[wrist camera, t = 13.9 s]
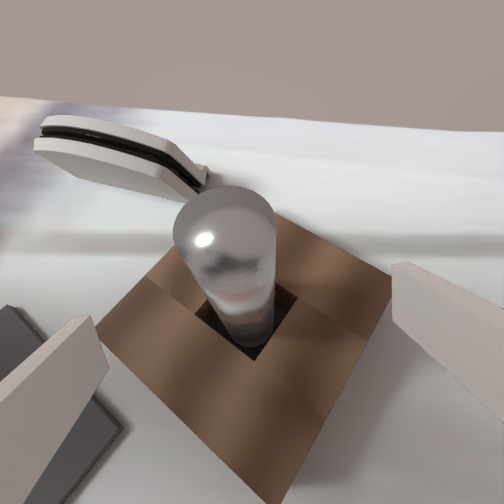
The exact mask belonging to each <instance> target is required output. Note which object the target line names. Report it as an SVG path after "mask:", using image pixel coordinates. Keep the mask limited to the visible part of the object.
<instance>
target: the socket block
mask: <svg viewBox="0 0 504 504" xmlns="http://www.w3.org/2000/svg"><path fill="white" fill-rule="evenodd" d="M274 214H275V217H276V262H275V298H274V301H275V302H276V303H278V304H279V305H281V306H282V307H284V308H285V309H287V310H288V311H289V312H288V314H287V315H286V316H285V318H284V319H283V321H282V322H281V324H280V325H279V327H278V328H277V330H276V331H275V332H274V334H273V335H272V337H271V338H270V340H269V341H268V343H267V344H266V346H265V347H264V348H263V350H262V351H261V353H260V354H259V356H258V357H257V359H256V360H255V362H254V361H253V360H252V359H250V358H249V357H248V356H246V355H245V354H244V353H243V352H241V351H240V350H239V349H238V348H236V347H235V346H234V345H233V344H231V343H230V342H229V341H227V340H226V339H225V338H224V337H222V336H221V335H220V334H219V333H217V332H216V331H215V330H213V329H212V328H211V327H210V325H211V323H212V322H213V321H214V320H215V318H216V317H217V316H218V315H217V313H216V311H215V310H214V308H213V307H212V305H211V304H210V302H209V300H208V299H207V297H206V296H205V294H204V292H203V291H202V289H201V288H200V286H199V285H198V283H197V281H196V280H195V278H194V277H193V275H192V273H191V272H190V270H189V269H188V267H187V266H186V264H185V262H184V261H183V259H182V258H181V256H180V254H179V253H178V251H177V249H176V247H175V245H174V246H173V247H172V248H171V249H170V250H169V251H168V252H167V253H166V254H165V255H164V257H163V258H162V259H161V260H160V261H159V262H158V263H157V264H156V265H155V266H154V267H153V268H152V269H151V270H150V271H149V272H148V273H147V274H146V275H145V276H144V277H143V278H142V279H141V280H140V281H139V282H138V283H137V284H136V285H135V286H134V287H133V288H132V289H131V290H130V291H129V292H128V293H127V294H126V296H125V297H124V298H123V299H122V300H121V301H120V302H119V303H118V304H117V305H116V306H115V307H114V308H113V309H112V310H111V311H110V312H109V313H108V314H107V315H106V316H105V317H104V318H103V319H102V320H101V321H100V322H99V323H98V324H97V325H96V326H95V329H96V332H97V335H98V338H99V340H100V341H101V342H102V343H103V344H104V345H105V346H106V347H107V348H108V349H109V350H110V351H111V352H113V353H114V354H115V355H116V356H117V357H118V358H119V359H120V360H121V361H122V362H123V363H124V364H125V365H126V366H127V367H128V368H129V369H130V370H131V371H132V372H133V373H134V374H135V375H136V376H137V377H138V378H139V379H140V380H141V381H142V382H143V383H144V384H145V385H146V386H147V387H148V388H149V389H150V390H151V391H152V392H153V393H154V394H155V395H156V396H157V397H158V398H159V399H160V400H161V401H162V402H163V403H164V404H165V405H166V406H167V407H168V408H169V409H170V410H171V411H172V412H173V413H174V414H175V415H177V416H178V417H179V418H180V419H181V420H182V421H183V422H184V423H185V424H186V425H187V426H188V427H189V428H190V429H191V430H192V431H193V432H194V433H195V434H196V435H197V436H198V437H199V438H200V439H201V440H202V441H203V442H204V443H205V444H206V445H207V446H208V447H209V448H210V449H211V450H212V451H213V452H214V453H215V454H216V455H217V456H218V457H219V458H220V459H221V460H222V461H223V462H224V463H225V464H226V465H227V466H228V467H229V468H230V469H231V470H232V471H233V472H234V473H235V474H236V475H237V476H238V477H240V478H241V479H242V480H243V481H244V482H245V483H246V484H247V485H248V486H249V487H250V488H251V489H252V490H253V491H254V492H255V493H256V494H257V495H258V496H259V497H260V498H261V499H262V500H263V501H264V502H265V503H266V504H281V502H282V500H283V498H284V497H285V495H286V493H287V491H288V489H289V487H290V485H291V484H292V482H293V480H294V478H295V476H296V474H297V472H298V470H299V469H300V467H301V465H302V463H303V461H304V459H305V457H306V455H307V454H308V452H309V450H310V448H311V446H312V444H313V442H314V441H315V439H316V437H317V435H318V433H319V431H320V429H321V427H322V426H323V424H324V422H325V420H326V418H327V416H328V414H329V412H330V411H331V409H332V407H333V405H334V403H335V401H336V399H337V398H338V396H339V394H340V392H341V390H342V388H343V386H344V384H345V383H346V381H347V379H348V377H349V375H350V373H351V371H352V369H353V368H354V366H355V364H356V362H357V360H358V358H359V356H360V355H361V353H362V351H363V349H364V347H365V345H366V343H367V341H368V340H369V338H370V336H371V334H372V332H373V330H374V328H375V326H376V325H377V323H378V321H379V319H380V317H381V315H382V313H383V312H384V310H385V308H386V306H387V304H388V302H389V300H390V298H391V297H392V276H390V275H388V274H386V273H384V272H382V271H381V270H379V269H377V268H375V267H373V266H371V265H370V264H368V263H366V262H364V261H362V260H360V259H359V258H357V257H355V256H353V255H351V254H349V253H348V252H346V251H344V250H342V249H340V248H338V247H337V246H335V245H333V244H331V243H329V242H327V241H326V240H324V239H322V238H320V237H318V236H316V235H315V234H313V233H311V232H309V231H307V230H306V229H304V228H302V227H300V226H298V225H296V224H295V223H293V222H291V221H289V220H287V219H285V218H284V217H282V216H280V215H278V214H276V213H274Z"/></svg>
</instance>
